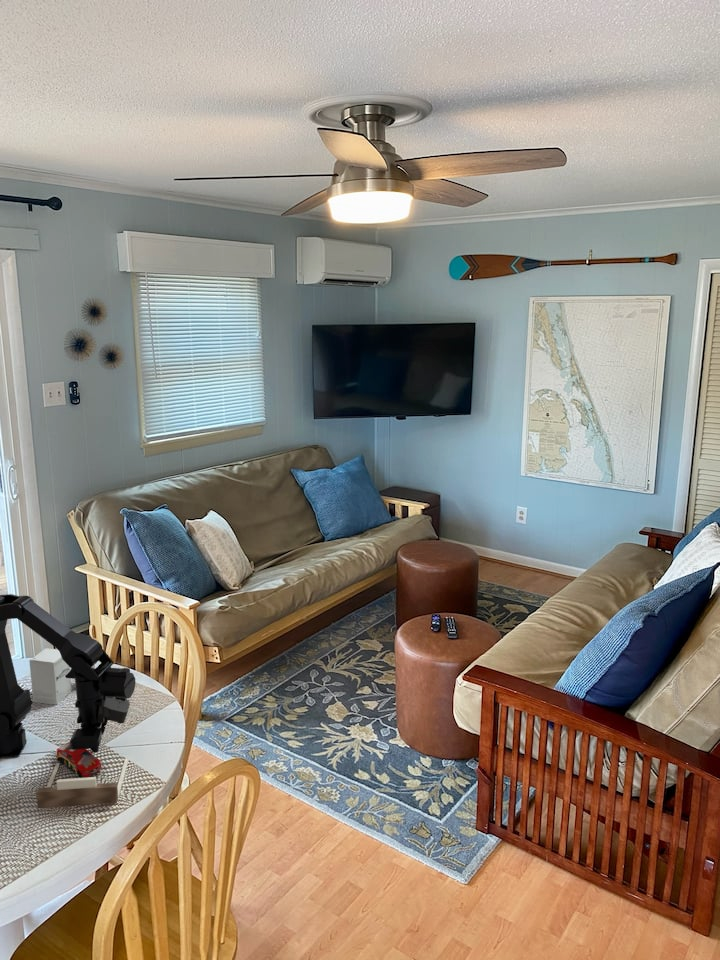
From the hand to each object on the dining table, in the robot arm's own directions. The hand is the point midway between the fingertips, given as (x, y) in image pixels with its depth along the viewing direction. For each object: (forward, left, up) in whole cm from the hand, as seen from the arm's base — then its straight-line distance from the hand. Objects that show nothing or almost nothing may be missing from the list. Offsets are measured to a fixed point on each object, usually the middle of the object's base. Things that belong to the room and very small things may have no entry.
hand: (95, 751), depth 173 cm
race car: (-3, -2, -2) cm, 5 cm away
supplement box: (-17, +30, -2) cm, 34 cm away
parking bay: (0, -9, -2) cm, 9 cm away
